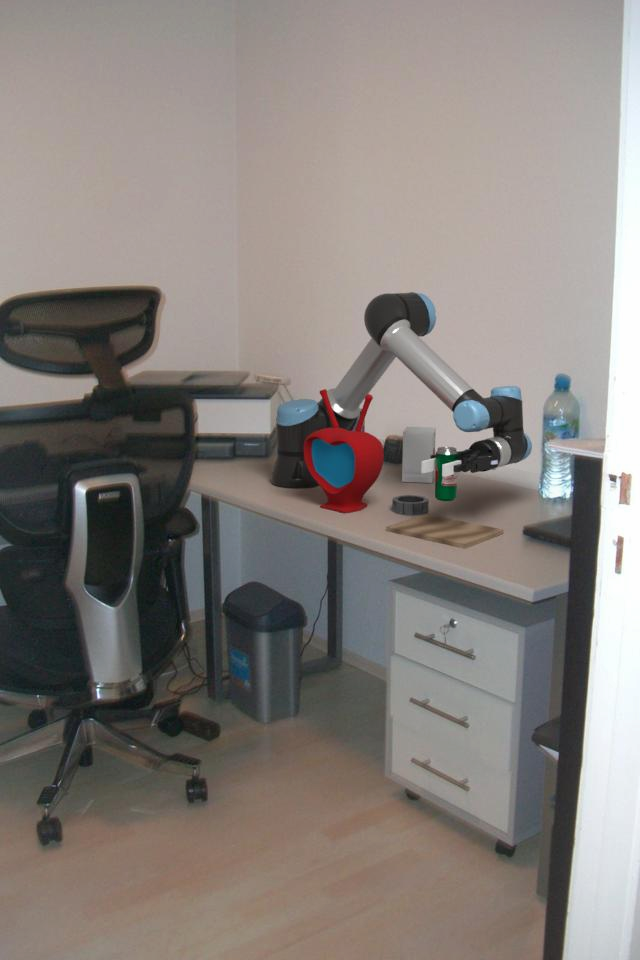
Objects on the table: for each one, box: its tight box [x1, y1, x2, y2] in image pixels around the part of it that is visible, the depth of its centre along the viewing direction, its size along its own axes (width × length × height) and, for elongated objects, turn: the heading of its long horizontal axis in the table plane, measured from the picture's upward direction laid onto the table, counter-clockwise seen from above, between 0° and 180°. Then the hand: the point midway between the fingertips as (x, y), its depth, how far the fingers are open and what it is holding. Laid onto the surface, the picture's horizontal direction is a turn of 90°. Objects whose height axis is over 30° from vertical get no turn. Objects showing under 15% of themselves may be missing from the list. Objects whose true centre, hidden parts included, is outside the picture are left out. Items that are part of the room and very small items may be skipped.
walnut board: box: [385, 513, 504, 549], centre depth 222 cm, size 22×16×1 cm
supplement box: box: [401, 426, 437, 484], centre depth 276 cm, size 9×9×15 cm
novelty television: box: [303, 388, 385, 514], centre depth 243 cm, size 21×13×30 cm, turn 46°
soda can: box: [434, 446, 459, 502], centre depth 219 cm, size 5×5×12 cm
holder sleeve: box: [391, 494, 430, 516], centre depth 242 cm, size 9×9×3 cm
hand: (433, 468), depth 215 cm, fingers closed on soda can, 5 cm apart
